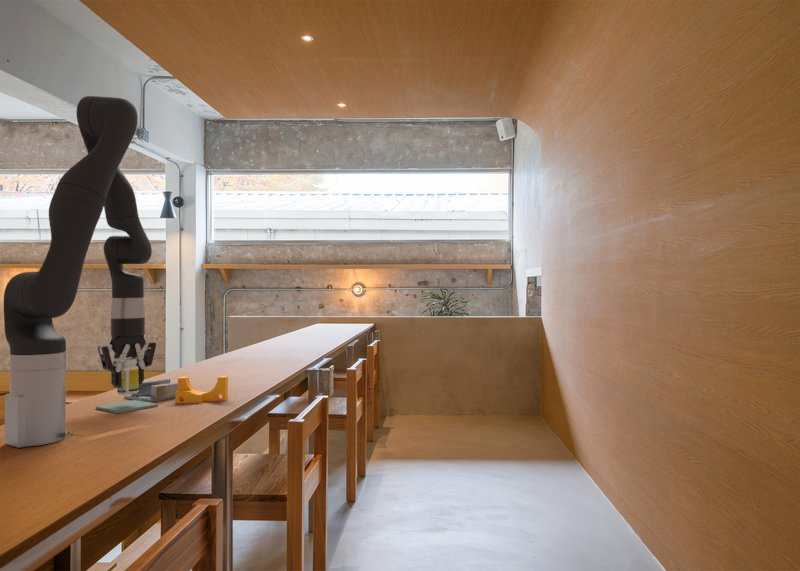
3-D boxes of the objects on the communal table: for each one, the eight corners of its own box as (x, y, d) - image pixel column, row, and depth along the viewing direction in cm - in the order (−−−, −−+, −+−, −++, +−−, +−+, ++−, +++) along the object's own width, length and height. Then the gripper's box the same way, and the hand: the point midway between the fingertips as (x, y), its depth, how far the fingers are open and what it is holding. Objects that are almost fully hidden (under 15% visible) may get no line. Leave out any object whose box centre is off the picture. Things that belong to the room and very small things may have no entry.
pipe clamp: (175, 404, 140) (175, 379, 140) (181, 401, 144) (181, 376, 145) (223, 403, 141) (223, 378, 141) (227, 400, 145) (227, 376, 145)
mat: (118, 413, 129) (118, 410, 129) (95, 409, 134) (95, 406, 134) (157, 406, 137) (157, 403, 137) (134, 402, 143) (134, 400, 143)
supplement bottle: (139, 390, 139) (139, 357, 139) (137, 394, 134) (137, 359, 135) (118, 392, 137) (118, 358, 137) (115, 395, 133) (115, 360, 133)
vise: (149, 403, 141) (149, 387, 141) (111, 397, 151) (111, 382, 151) (196, 395, 153) (196, 380, 153) (158, 389, 162) (158, 376, 163)
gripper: (106, 317, 128) (107, 391, 128) (163, 315, 140) (163, 383, 140) (90, 317, 132) (90, 388, 132) (146, 315, 144) (146, 380, 144)
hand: (128, 385), depth 136 cm, fingers closed on supplement bottle, 4 cm apart
